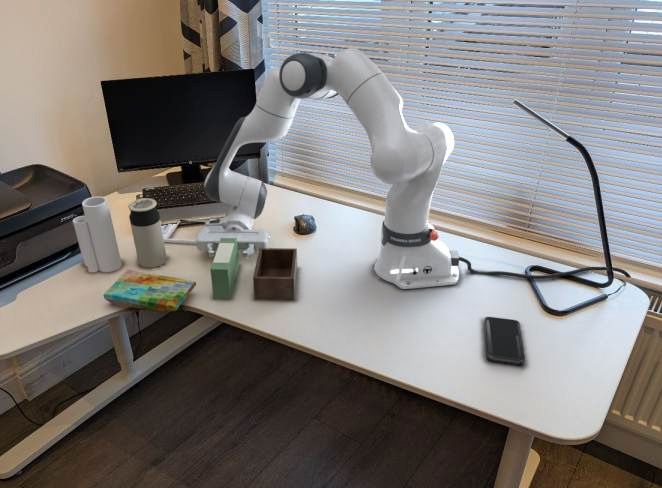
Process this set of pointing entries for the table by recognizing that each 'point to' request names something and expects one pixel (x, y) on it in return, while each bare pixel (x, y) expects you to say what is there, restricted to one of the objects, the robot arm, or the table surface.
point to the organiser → (275, 274)
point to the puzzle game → (149, 291)
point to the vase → (97, 236)
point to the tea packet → (225, 268)
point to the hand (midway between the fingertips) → (228, 255)
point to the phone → (503, 341)
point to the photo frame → (170, 228)
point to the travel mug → (147, 232)
